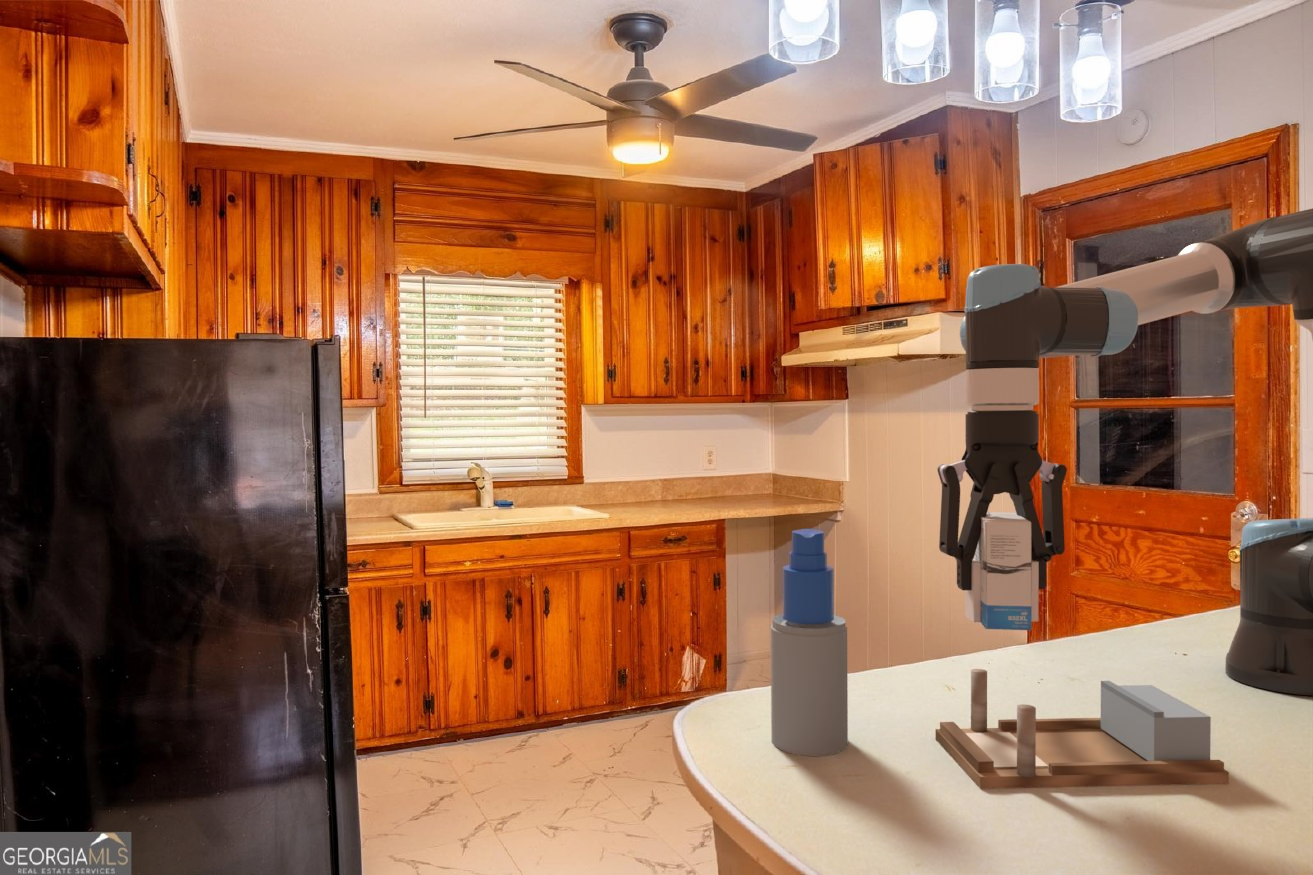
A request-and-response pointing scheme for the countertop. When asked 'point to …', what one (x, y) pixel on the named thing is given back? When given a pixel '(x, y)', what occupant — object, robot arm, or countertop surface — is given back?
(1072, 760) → the tray
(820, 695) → the spray bottle
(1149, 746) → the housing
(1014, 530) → the ink box
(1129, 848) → the countertop surface
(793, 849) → the countertop surface
